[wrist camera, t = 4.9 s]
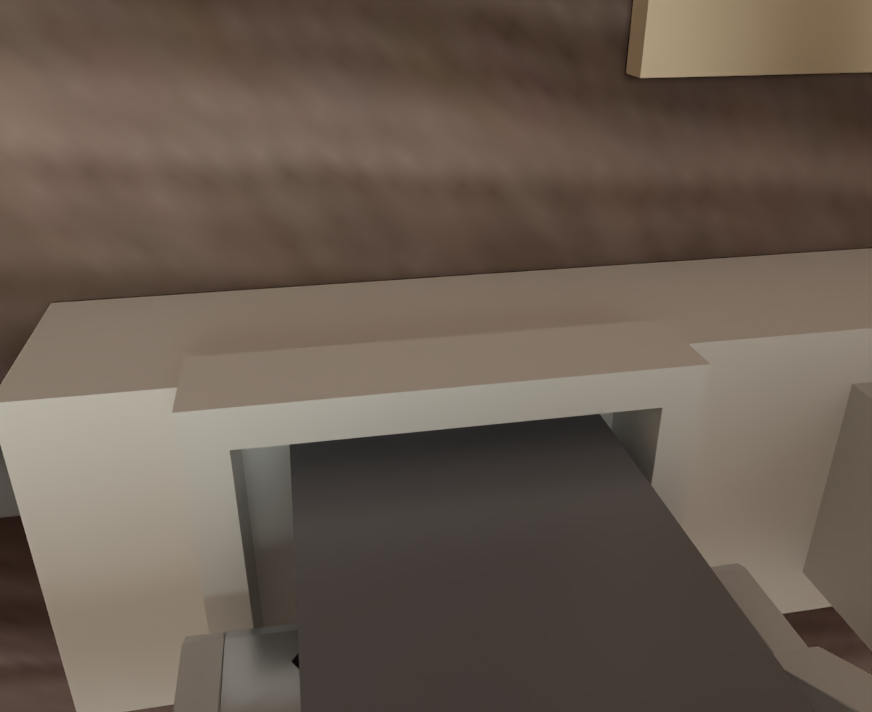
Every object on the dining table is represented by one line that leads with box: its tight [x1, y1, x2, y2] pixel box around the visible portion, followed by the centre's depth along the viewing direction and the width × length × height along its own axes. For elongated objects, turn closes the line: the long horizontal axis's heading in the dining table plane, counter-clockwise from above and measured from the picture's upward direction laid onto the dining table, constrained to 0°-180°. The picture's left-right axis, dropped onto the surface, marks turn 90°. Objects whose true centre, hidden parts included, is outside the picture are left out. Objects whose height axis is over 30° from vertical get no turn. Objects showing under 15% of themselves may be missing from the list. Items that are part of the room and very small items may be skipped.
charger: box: [290, 414, 815, 712], centre depth 10 cm, size 4×4×6 cm
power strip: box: [0, 248, 872, 712], centre depth 13 cm, size 28×7×6 cm, turn 90°
